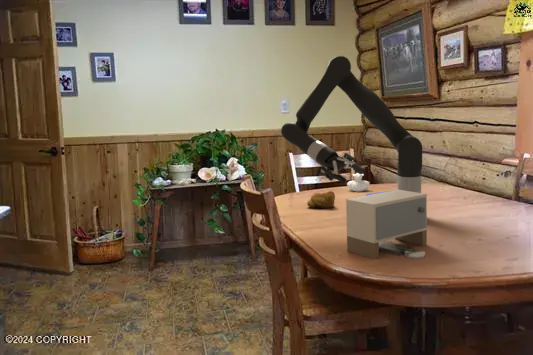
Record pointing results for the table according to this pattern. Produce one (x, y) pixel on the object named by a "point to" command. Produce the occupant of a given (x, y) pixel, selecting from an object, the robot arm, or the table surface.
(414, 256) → the steel token
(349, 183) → the white animal figurine
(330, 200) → the bread roll
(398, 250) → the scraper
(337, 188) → the table surface
